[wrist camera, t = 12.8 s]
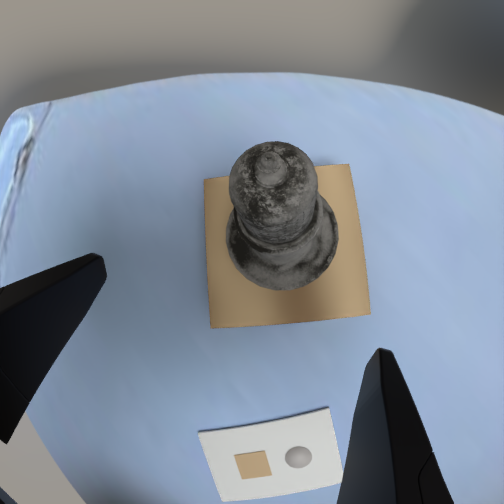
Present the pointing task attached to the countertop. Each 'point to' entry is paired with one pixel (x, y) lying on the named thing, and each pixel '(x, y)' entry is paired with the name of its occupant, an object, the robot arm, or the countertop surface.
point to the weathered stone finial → (279, 218)
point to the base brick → (297, 300)
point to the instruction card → (274, 457)
